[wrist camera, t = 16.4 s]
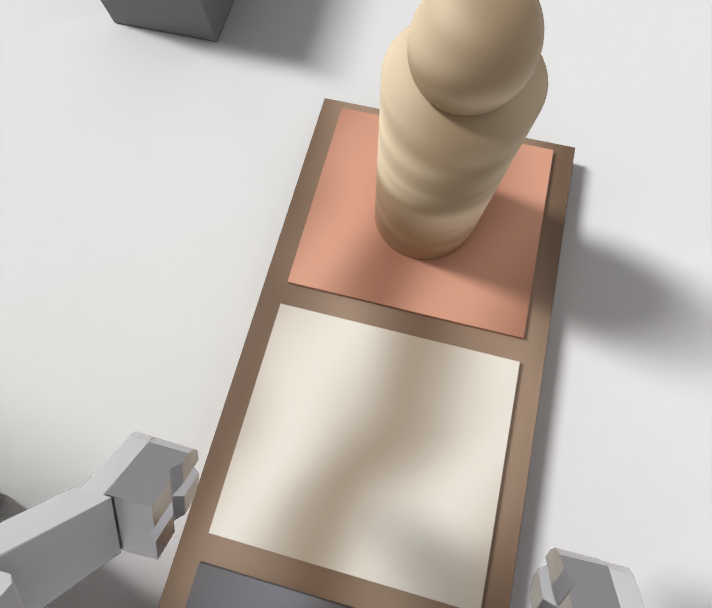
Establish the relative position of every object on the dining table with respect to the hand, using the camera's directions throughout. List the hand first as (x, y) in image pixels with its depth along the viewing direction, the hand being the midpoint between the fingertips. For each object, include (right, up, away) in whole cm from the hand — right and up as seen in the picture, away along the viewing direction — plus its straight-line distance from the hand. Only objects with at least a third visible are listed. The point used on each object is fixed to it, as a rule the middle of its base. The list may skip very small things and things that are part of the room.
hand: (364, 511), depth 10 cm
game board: (0, -1, +8) cm, 8 cm away
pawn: (+3, +9, +9) cm, 13 cm away
